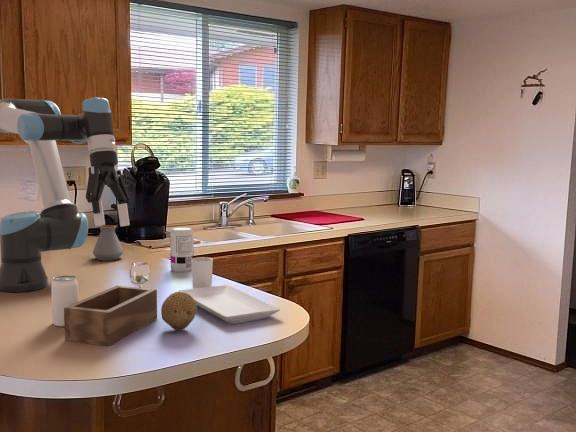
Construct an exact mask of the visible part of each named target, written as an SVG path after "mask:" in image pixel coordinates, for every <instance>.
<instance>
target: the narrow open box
mask: <svg viewBox="0 0 576 432" xmlns="http://www.w3.org/2000/svg"><path fill="white" fill-rule="evenodd" d="M157 319H158V291H157V289H156V288H146V287H141V288H138V287H137V286H126V285H115V286H113V287H109V288H107V289H105V290H103V291H101V292H98V293H96V294H93V295H91V296H89V297H86V298H84V299H82V300H78V302H76V303H74V304H72V305H69V306H67V307H64V326H65V327H64V341H67V342H74V343H81V344H90V345H99V346H106V347H111V346H113V345H115V344H116V343H118V342H119V341H121V340H122V339H125V338H126V337H128V336H129V335H131V334H133V333H136V332H137V331H138V330H140V329H142V328H143V327H146V326H147V325H149V324H150V323H152V322H154V321H155V320H157Z"/></svg>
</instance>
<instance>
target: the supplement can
mask: <svg viewBox="0 0 576 432" xmlns="http://www.w3.org/2000/svg"><path fill="white" fill-rule="evenodd" d="M169 236H170V237H169V239H170V242H169V244H170V247H169V248H170V249H169V250H170V269H171V270H172V272H176V273H185V272H186V273H187V272H190V271H191V272H192V262H191V260H192V259H193V258H195V254H194V253H195V250H194V247H195V246H194V245H195V244H194V241H195V240H194V239H195V238H194V236H195V235H194V231H193V228H191V227H187V226H186V227H184V226H182V227H181V226H179V227H173V228H171V231H170V235H169Z"/></svg>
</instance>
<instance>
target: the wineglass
mask: <svg viewBox="0 0 576 432" xmlns="http://www.w3.org/2000/svg"><path fill="white" fill-rule="evenodd" d="M128 273H129V275H128V277H129V281H130V283H131V284H132V285H135V286H136V287H137V286H138V287H137V288H142V287H143V286H144V285H146V284H148V283H149V282H150V278H151V271H150V267H149V263H148V262H146V261H145V262H143V261H137V262H132V263H131V264H130V268H129V272H128Z"/></svg>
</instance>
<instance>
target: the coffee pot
mask: <svg viewBox="0 0 576 432" xmlns="http://www.w3.org/2000/svg"><path fill="white" fill-rule="evenodd" d="M92 219H93V221H94V217H93V218H92ZM98 228H99V230H100V233H99V235H98V238H97V239H96V243H95V245H94V247H93V250H92V255H93V256H94V257H95V258H97V260H98V261H105V262H106V261H107V262H110V261H115V260H119V259H120V257H121V256H122V255H123V253H124V249H123V247H122V245H121V242H120V240H119V238H118V236H117V234H116V228H117V225H115V224H114V225H113V224H105V225H101V226H98Z"/></svg>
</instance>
